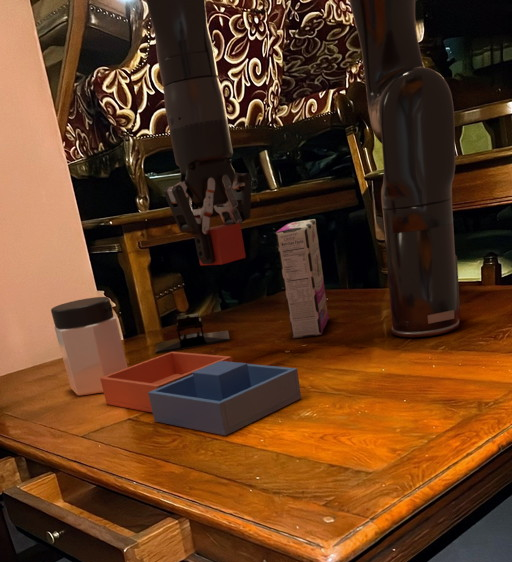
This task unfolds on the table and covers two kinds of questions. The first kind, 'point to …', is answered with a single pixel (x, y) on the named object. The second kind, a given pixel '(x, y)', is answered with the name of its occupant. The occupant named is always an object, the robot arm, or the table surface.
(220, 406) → the blue bin
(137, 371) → the terracotta bin
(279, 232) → the candy bar box
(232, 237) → the red block
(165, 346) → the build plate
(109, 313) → the jar
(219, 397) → the blue block
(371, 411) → the table surface
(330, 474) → the table surface
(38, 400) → the table surface
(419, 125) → the robot arm
